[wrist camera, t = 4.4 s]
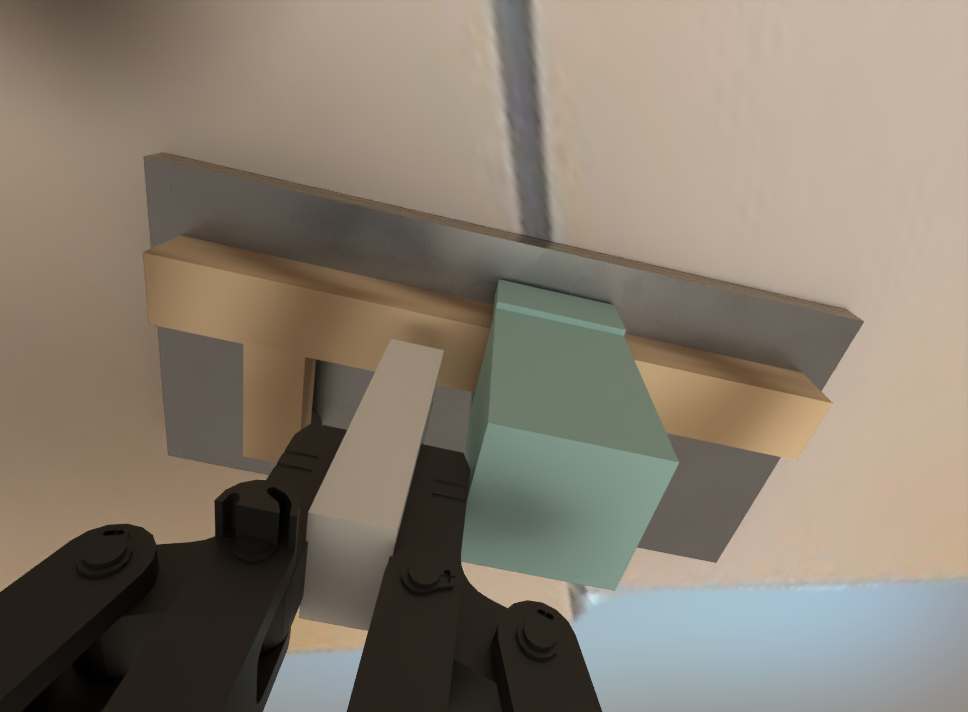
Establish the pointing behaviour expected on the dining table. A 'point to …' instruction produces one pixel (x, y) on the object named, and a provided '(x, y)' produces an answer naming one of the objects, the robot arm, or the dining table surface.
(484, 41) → the dining table surface
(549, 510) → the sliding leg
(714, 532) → the bolt plate
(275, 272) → the beam
